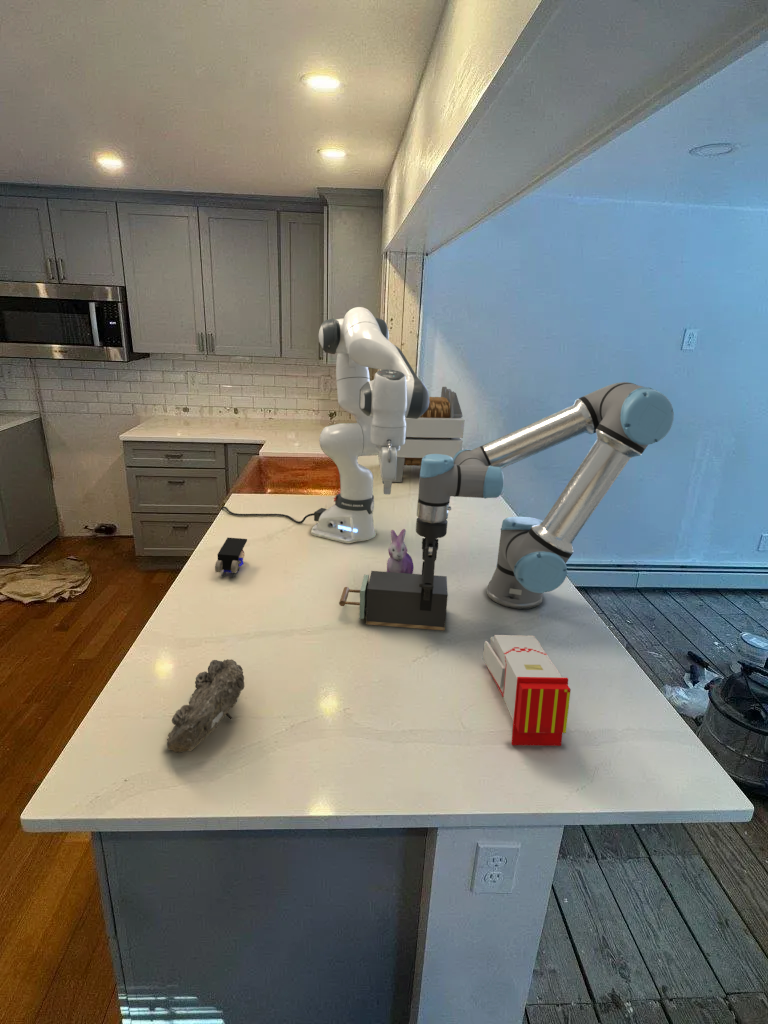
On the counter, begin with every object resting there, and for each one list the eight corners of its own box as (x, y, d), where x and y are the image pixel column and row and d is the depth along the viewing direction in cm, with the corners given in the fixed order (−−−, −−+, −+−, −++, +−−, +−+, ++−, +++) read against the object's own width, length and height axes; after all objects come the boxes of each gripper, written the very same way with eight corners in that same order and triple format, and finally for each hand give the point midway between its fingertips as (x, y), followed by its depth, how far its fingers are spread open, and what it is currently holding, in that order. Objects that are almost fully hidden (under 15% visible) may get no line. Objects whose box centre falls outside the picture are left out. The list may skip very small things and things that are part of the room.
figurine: (393, 588, 161) (395, 539, 156) (376, 573, 169) (378, 526, 164) (421, 582, 165) (425, 534, 160) (404, 568, 173) (407, 522, 168)
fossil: (192, 660, 117) (244, 628, 112) (224, 691, 120) (276, 661, 115) (142, 746, 98) (202, 712, 93) (182, 779, 101) (242, 748, 96)
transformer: (382, 463, 289) (386, 382, 275) (445, 464, 293) (451, 384, 279) (390, 482, 257) (394, 392, 243) (460, 483, 261) (468, 394, 247)
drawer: (338, 617, 143) (338, 589, 140) (343, 600, 151) (344, 573, 149) (432, 624, 141) (434, 596, 139) (432, 606, 150) (434, 579, 147)
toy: (531, 618, 129) (580, 685, 100) (526, 672, 132) (572, 753, 102) (478, 617, 129) (511, 684, 99) (475, 671, 131) (505, 752, 102)
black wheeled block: (238, 584, 162) (249, 557, 175) (236, 562, 158) (247, 536, 172) (215, 584, 161) (227, 556, 175) (212, 561, 158) (225, 535, 171)
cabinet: (365, 624, 142) (367, 588, 139) (370, 604, 152) (371, 570, 148) (444, 630, 141) (447, 594, 138) (443, 609, 151) (446, 576, 147)
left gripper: (403, 445, 134) (400, 500, 139) (398, 429, 154) (396, 478, 158) (376, 444, 134) (375, 500, 138) (375, 428, 153) (373, 477, 158)
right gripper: (449, 539, 125) (441, 623, 132) (446, 503, 148) (439, 576, 155) (415, 536, 125) (409, 620, 132) (417, 501, 149) (412, 573, 156)
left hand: (386, 488), depth 148 cm, fingers open, 8 cm apart
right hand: (425, 596), depth 144 cm, fingers open, 13 cm apart
